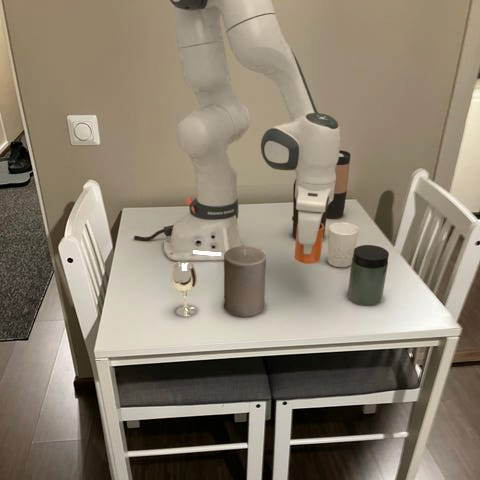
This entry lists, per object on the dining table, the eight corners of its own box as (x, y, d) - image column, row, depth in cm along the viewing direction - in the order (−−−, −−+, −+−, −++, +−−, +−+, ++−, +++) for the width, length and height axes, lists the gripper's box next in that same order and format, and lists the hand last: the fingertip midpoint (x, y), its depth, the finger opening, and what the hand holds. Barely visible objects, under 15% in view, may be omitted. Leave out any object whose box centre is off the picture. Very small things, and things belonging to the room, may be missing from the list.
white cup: (353, 270, 148) (358, 235, 142) (324, 267, 149) (327, 233, 143) (354, 257, 154) (359, 223, 149) (326, 254, 155) (329, 221, 150)
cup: (299, 264, 131) (302, 232, 126) (291, 253, 136) (293, 220, 131) (324, 262, 132) (328, 230, 127) (315, 250, 137) (318, 219, 132)
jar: (355, 307, 132) (361, 264, 125) (342, 290, 138) (347, 248, 132) (387, 303, 133) (395, 260, 127) (373, 286, 140) (379, 245, 134)
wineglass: (178, 319, 127) (174, 273, 120) (170, 307, 131) (167, 262, 125) (201, 314, 129) (199, 269, 122) (193, 302, 133) (191, 258, 127)
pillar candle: (215, 307, 131) (214, 250, 123) (242, 292, 138) (242, 236, 129) (247, 322, 126) (248, 263, 118) (273, 305, 132) (275, 248, 124)
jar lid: (361, 269, 126) (362, 261, 125) (347, 254, 133) (348, 246, 132) (393, 265, 128) (394, 258, 127) (378, 250, 134) (379, 243, 133)
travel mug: (317, 210, 182) (323, 150, 171) (340, 210, 183) (347, 149, 172) (323, 220, 176) (329, 157, 165) (346, 219, 177) (354, 156, 166)
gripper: (305, 174, 133) (300, 227, 141) (295, 205, 116) (290, 263, 124) (331, 176, 132) (325, 229, 140) (325, 208, 115) (318, 266, 123)
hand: (309, 245), depth 132 cm, fingers closed on cup, 6 cm apart
